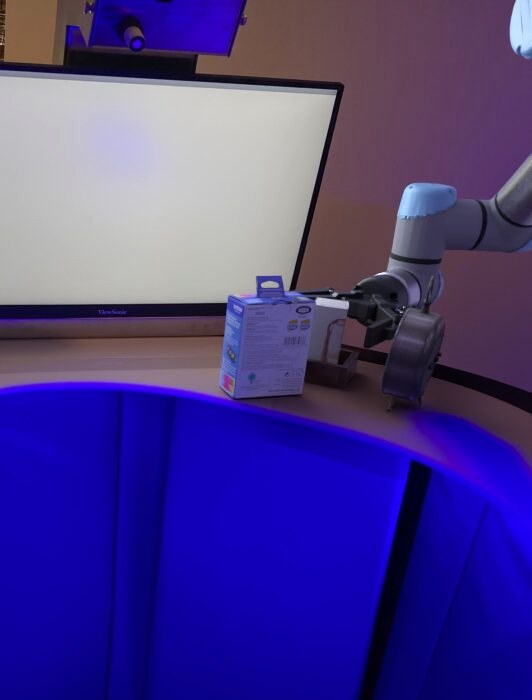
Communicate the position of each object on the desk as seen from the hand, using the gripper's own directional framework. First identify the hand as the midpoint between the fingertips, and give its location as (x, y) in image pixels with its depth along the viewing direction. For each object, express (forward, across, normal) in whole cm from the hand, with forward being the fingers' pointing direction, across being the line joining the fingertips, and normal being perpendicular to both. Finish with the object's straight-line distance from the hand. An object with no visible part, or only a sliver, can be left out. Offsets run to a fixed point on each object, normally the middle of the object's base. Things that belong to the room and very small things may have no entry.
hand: (318, 325), depth 111 cm
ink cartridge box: (+9, +2, -8) cm, 12 cm away
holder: (-3, 0, -7) cm, 8 cm away
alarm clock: (-1, -13, -8) cm, 15 cm away
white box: (-3, 0, -8) cm, 8 cm away
